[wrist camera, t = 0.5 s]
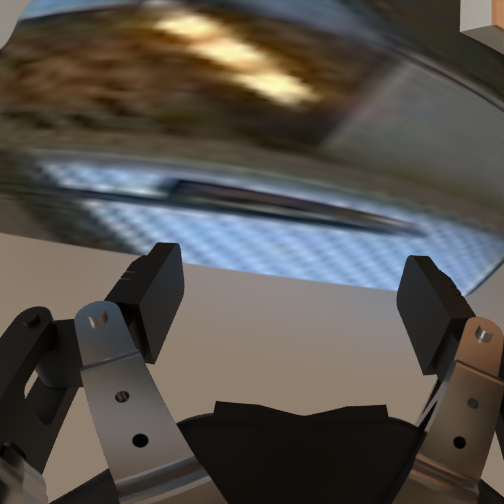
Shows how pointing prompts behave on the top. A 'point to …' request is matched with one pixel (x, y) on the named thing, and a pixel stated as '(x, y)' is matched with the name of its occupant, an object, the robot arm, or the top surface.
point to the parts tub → (480, 23)
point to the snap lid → (498, 14)
